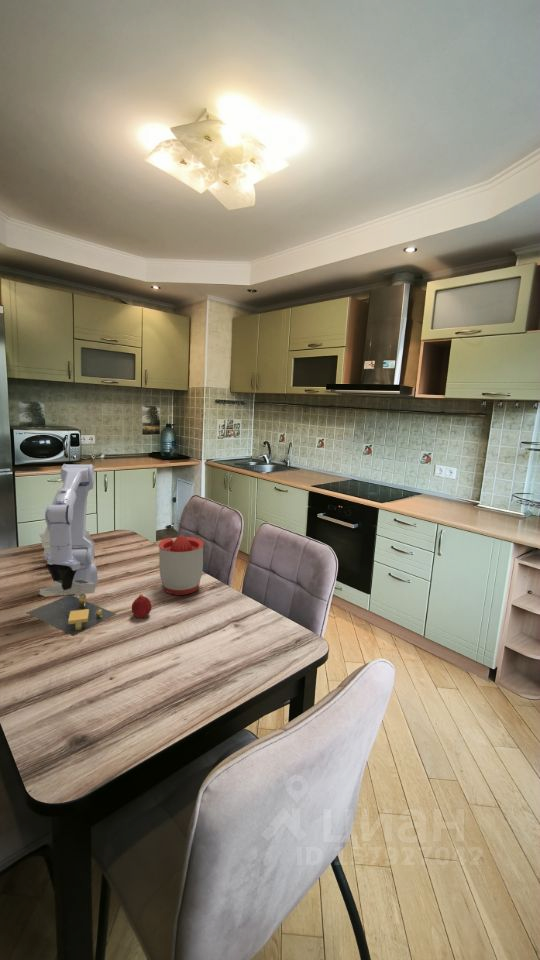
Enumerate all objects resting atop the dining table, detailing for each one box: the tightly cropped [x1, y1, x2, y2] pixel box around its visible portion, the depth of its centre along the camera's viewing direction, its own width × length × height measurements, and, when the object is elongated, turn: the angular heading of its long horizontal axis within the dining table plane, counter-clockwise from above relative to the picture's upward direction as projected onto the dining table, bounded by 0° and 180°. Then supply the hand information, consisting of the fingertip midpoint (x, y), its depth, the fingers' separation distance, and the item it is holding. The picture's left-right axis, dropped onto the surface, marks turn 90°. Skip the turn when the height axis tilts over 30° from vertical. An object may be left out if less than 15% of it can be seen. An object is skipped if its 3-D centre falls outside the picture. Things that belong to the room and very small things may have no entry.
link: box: [38, 579, 97, 598], centre depth 126 cm, size 15×6×4 cm, turn 149°
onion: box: [131, 593, 153, 619], centre depth 126 cm, size 6×6×8 cm
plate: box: [26, 594, 117, 637], centre depth 127 cm, size 15×23×1 cm, turn 60°
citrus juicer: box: [157, 534, 205, 596], centre depth 147 cm, size 16×17×20 cm
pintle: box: [78, 594, 87, 607], centre depth 131 cm, size 2×2×4 cm
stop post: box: [96, 609, 102, 618], centre depth 125 cm, size 2×2×2 cm
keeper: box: [68, 609, 89, 630], centre depth 120 cm, size 6×5×3 cm
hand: (63, 587), depth 125 cm, fingers closed on link, 4 cm apart
